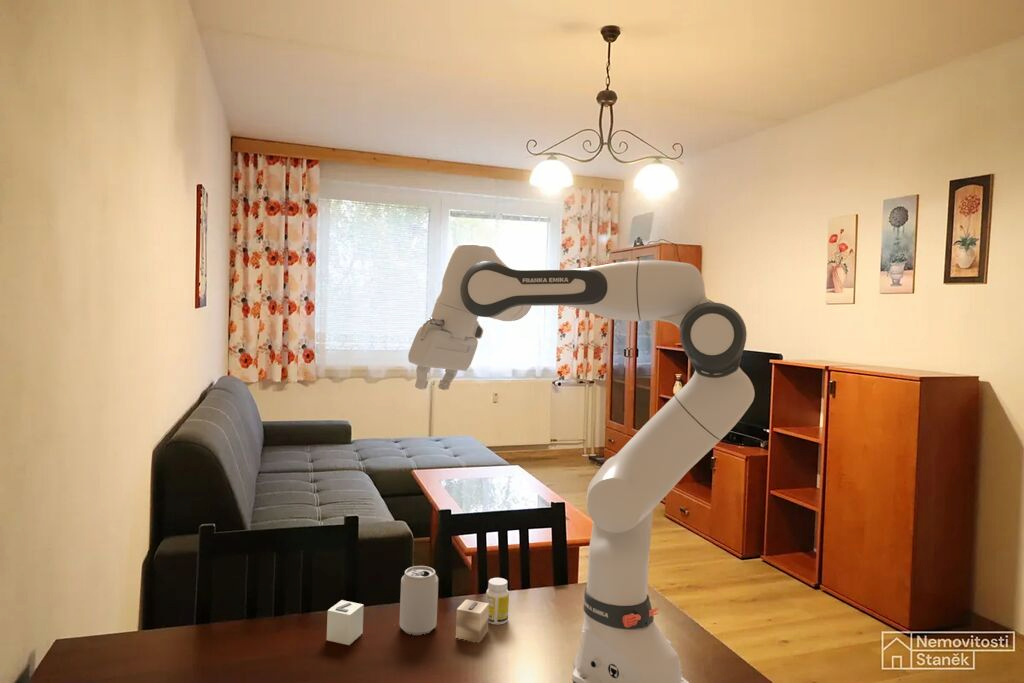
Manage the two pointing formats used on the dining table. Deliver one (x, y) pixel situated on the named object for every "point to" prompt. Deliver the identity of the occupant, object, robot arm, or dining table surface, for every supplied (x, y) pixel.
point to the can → (418, 600)
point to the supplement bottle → (497, 601)
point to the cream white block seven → (345, 622)
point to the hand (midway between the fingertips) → (431, 389)
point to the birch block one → (472, 620)
